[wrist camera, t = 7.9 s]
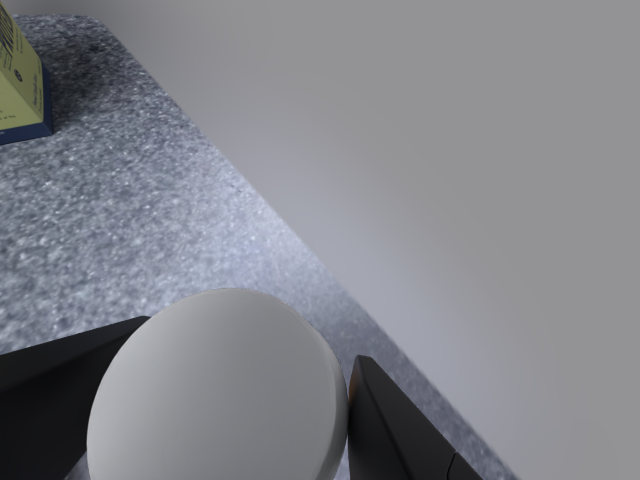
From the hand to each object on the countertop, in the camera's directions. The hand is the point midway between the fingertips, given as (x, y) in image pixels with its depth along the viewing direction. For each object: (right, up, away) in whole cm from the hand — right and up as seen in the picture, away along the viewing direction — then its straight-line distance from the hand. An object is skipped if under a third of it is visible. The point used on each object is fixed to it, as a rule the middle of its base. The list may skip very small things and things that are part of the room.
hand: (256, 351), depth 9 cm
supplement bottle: (-1, -5, +5) cm, 7 cm away
